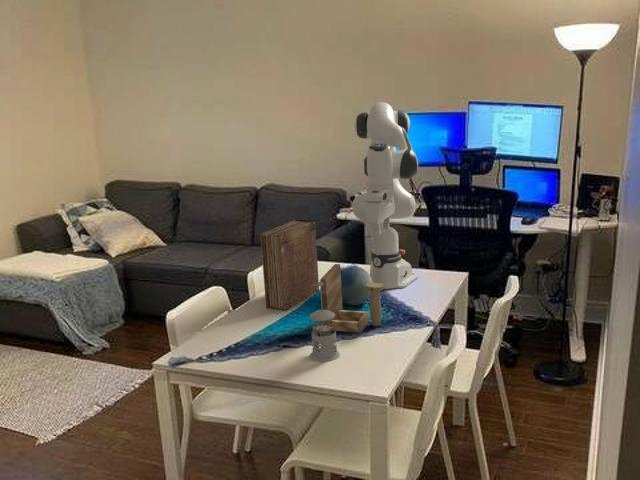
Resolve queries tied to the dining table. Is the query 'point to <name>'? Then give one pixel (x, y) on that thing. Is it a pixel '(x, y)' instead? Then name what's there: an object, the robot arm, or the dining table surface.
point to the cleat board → (340, 304)
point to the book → (289, 264)
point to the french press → (323, 336)
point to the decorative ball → (354, 285)
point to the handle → (375, 302)
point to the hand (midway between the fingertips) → (382, 231)
